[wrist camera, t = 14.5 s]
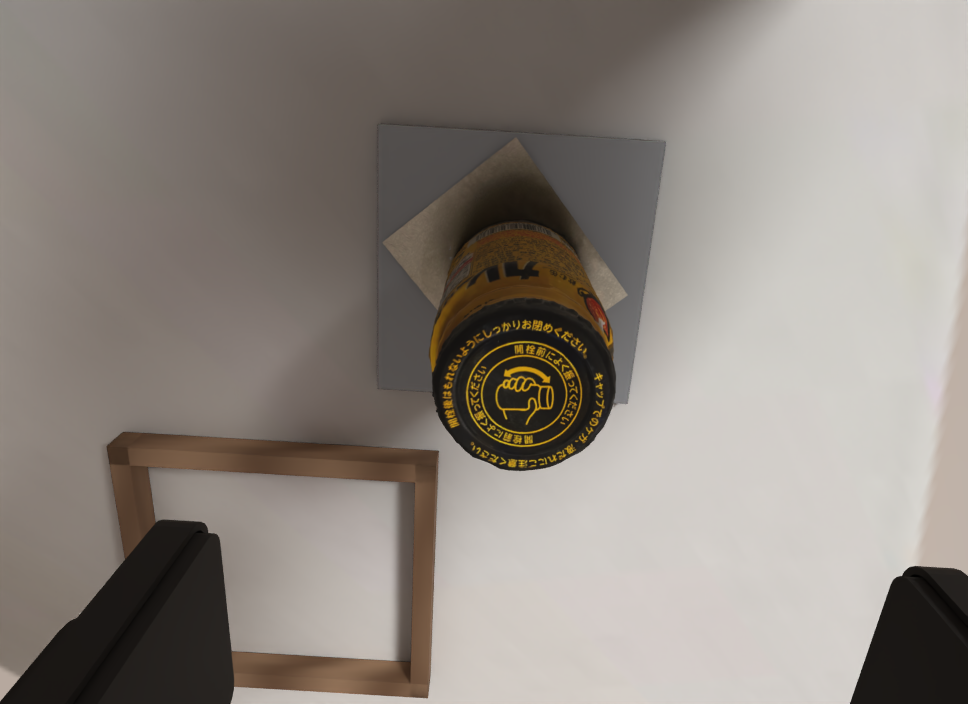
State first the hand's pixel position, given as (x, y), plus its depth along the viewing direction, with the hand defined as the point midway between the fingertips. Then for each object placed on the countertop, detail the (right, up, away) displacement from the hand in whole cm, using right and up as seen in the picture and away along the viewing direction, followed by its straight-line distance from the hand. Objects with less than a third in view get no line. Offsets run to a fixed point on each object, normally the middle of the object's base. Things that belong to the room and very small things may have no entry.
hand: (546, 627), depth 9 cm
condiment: (0, +8, +20) cm, 22 cm away
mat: (0, +8, +21) cm, 22 cm away
